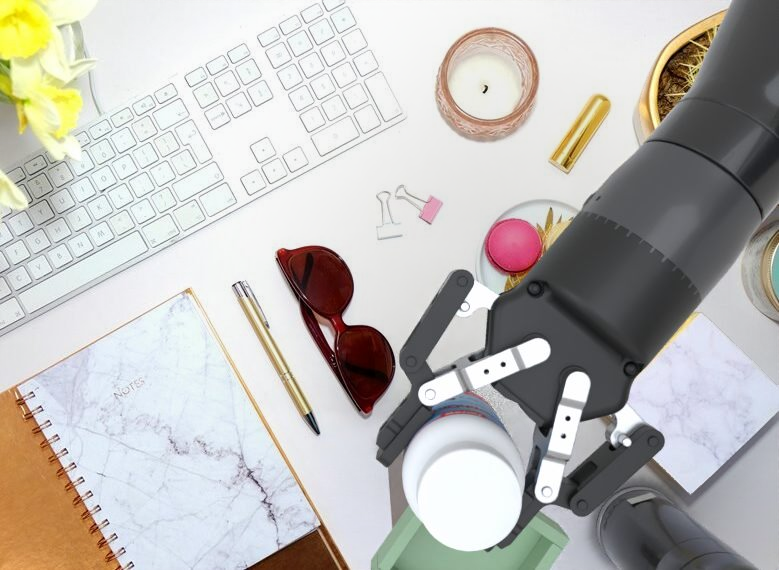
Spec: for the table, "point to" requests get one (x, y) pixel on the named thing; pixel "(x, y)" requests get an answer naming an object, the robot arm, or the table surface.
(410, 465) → the pill bottle
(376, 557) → the tray
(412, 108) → the table surface
